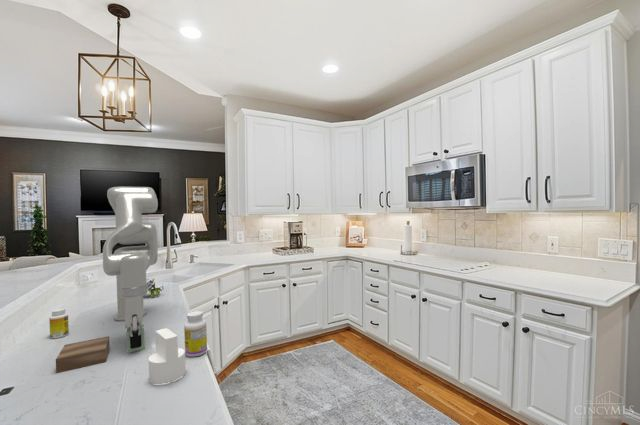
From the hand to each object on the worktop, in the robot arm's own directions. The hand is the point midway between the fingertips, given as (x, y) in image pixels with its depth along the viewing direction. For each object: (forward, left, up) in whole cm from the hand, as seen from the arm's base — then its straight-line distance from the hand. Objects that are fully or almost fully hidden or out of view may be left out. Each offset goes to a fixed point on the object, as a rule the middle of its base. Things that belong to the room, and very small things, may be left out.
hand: (136, 343), depth 105 cm
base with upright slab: (+27, +8, -2) cm, 28 cm away
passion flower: (-77, +6, -2) cm, 77 cm away
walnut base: (0, -14, -2) cm, 14 cm away
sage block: (0, 0, -2) cm, 2 cm away
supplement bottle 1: (-31, -26, -2) cm, 40 cm away
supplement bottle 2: (+16, +17, -2) cm, 23 cm away
